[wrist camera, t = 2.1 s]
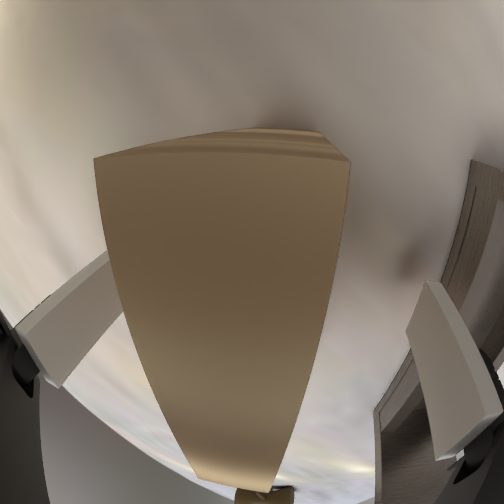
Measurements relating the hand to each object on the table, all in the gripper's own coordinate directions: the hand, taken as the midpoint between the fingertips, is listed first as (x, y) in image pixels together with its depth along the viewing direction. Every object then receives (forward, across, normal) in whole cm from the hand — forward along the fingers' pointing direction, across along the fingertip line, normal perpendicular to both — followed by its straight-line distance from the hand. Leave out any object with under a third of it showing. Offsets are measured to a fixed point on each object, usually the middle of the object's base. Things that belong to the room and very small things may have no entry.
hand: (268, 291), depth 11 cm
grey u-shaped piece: (+3, +13, -4) cm, 14 cm away
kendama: (+4, +3, -49) cm, 49 cm away
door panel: (+4, 0, 0) cm, 4 cm away
